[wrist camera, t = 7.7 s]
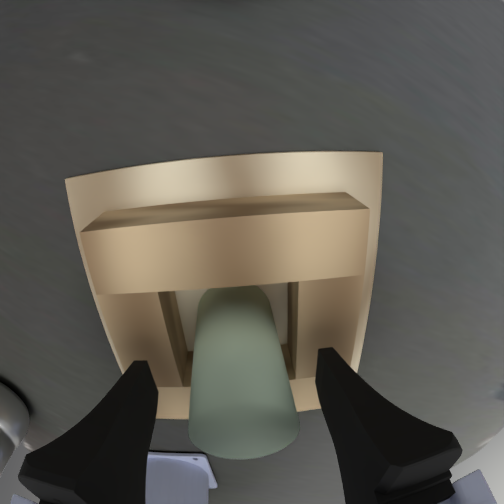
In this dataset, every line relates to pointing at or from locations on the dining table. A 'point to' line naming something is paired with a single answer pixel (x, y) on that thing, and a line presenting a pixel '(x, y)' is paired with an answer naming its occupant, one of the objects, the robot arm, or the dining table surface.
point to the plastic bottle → (11, 423)
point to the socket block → (231, 255)
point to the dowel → (239, 378)
